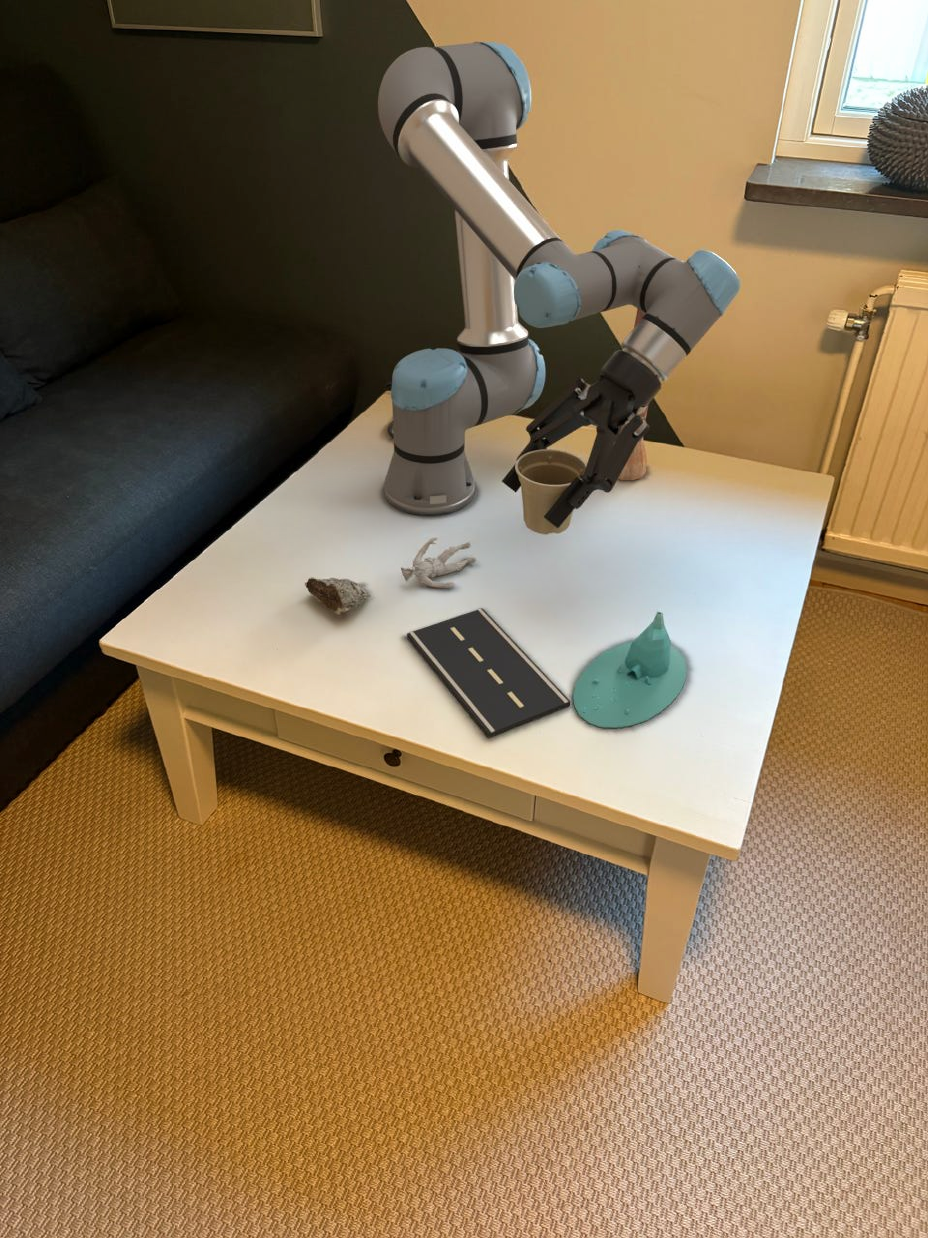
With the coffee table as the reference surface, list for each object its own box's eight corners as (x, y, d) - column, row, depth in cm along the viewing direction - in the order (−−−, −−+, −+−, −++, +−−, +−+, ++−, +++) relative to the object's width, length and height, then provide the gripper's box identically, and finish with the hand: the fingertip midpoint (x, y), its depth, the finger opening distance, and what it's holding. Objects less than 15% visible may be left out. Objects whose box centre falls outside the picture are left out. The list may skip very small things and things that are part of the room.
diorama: (548, 701, 121) (553, 649, 115) (630, 627, 133) (638, 577, 128) (630, 746, 115) (640, 693, 109) (709, 663, 127) (720, 612, 122)
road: (406, 637, 130) (406, 632, 130) (482, 612, 135) (482, 607, 134) (488, 738, 115) (488, 733, 115) (570, 705, 120) (570, 700, 119)
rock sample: (393, 576, 135) (345, 554, 129) (378, 627, 133) (329, 607, 128) (350, 575, 142) (303, 554, 137) (335, 624, 141) (287, 604, 135)
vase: (633, 486, 164) (657, 314, 145) (595, 474, 167) (614, 305, 148) (658, 461, 171) (684, 295, 152) (621, 450, 174) (642, 286, 155)
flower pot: (578, 546, 123) (584, 489, 118) (506, 537, 125) (510, 480, 119) (585, 509, 131) (591, 453, 125) (517, 501, 132) (520, 445, 126)
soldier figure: (484, 578, 143) (431, 590, 134) (462, 589, 146) (408, 601, 137) (466, 530, 144) (412, 539, 135) (445, 542, 147) (390, 551, 138)
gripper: (712, 415, 116) (593, 557, 119) (603, 351, 131) (501, 479, 134) (685, 383, 110) (562, 533, 114) (575, 320, 125) (469, 454, 129)
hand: (529, 504), depth 124 cm, fingers closed on flower pot, 9 cm apart
